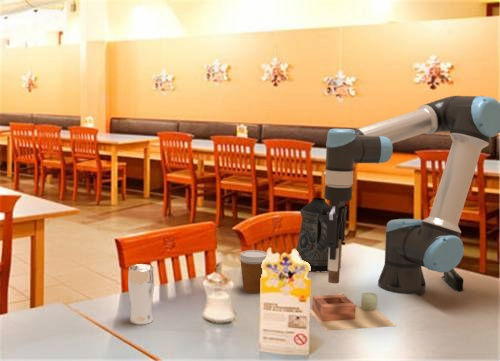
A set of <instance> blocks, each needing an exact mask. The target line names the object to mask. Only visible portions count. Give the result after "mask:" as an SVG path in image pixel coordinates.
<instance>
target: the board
mask: <svg viewBox="0 0 500 361" xmlns="http://www.w3.org/2000/svg"><path fill="white" fill-rule="evenodd" d="M311 304H312V305H311V306H312V307H311V308H309V309H310V312H309V313H310V314H311V316H312V317H313V318H314V319H315V320H316V321H317V322H318V323H319V325H320V326H321V327H322V328H323V329H324V331H338V330H340V331H341V330H342V331H343V330H355V329H369V328H370V329H371V328H386V327H396V326H397V325H396V324H395V323H394V322H393V321H391V320H390V319H389V318H387V317H386V316H385V315H384V314H383V313H382V312H381V311H380V310H379V309H376V310H375V311H366V310H363V309H361V305H360V306H357V304H355V303H354V302H353V301H352V300H351V299H349V298H348V297H347V296H346V295H345V294H329V295H326V294H325V295H312V300H311Z"/></svg>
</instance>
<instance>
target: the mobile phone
mask: <svg viewBox="0 0 500 361" xmlns="http://www.w3.org/2000/svg"><path fill="white" fill-rule="evenodd" d="M441 276H442V277H443V278H444V279H445V280H446V281H445V280H444V279H443V278H442V277H441V278H442V279H443V280H444V281H445V282H446V283H447V284H448V285H449V286H450V287H451V288H452V290H453V291H456V290H458V291H457V292H463V290H464V278H463V277H462V276H461V275H460V274H459V273H458V272H457V271H456V270H455V268H453V269H451V270H450V271H448V272H443V275H441Z"/></svg>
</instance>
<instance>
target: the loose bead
mask: <svg viewBox="0 0 500 361" xmlns="http://www.w3.org/2000/svg"><path fill="white" fill-rule="evenodd" d="M377 303H378V294H376V293H373V292H363V293H361V304H360V306H361V309H363V310H366V311H375V310H376V309H377V306H378V304H377ZM377 310H378V309H377Z"/></svg>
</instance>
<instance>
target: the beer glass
mask: <svg viewBox="0 0 500 361" xmlns="http://www.w3.org/2000/svg"><path fill="white" fill-rule="evenodd" d="M154 270H155V269H154V266H153V265H151V264H144V263H142V264H138V263H137V264H133V265H131V266H129V267H128V276H127V279H128V280H127V283H128V284H127V285H128V286H127V287H128V295H129V300H130V305H131V311H130V312H131V313H130V318H129V322H130V323H131V324H133V325H141V326H143V325H149V324H151V323H152V322H153V320H154V319H153V318H154V317H153V315H152V314H153V313H152V302H153V298H154V291H155V273H154V272H155V271H154Z"/></svg>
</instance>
